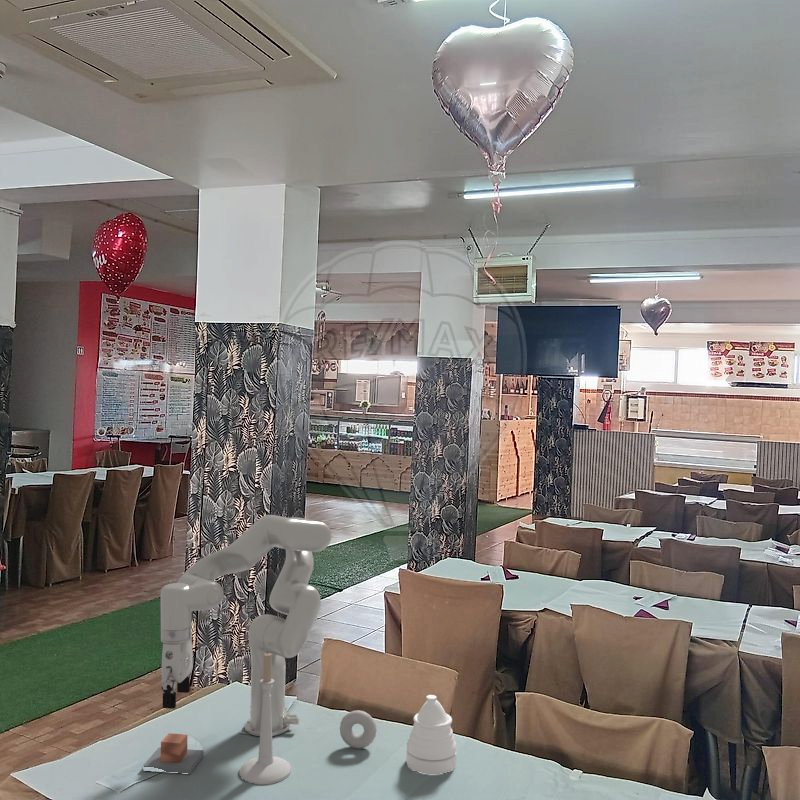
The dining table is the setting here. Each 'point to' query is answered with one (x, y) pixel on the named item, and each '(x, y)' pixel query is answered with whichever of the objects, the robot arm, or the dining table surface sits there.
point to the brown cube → (174, 748)
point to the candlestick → (265, 741)
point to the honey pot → (431, 740)
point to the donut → (349, 735)
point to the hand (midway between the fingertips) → (176, 699)
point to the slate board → (182, 767)
